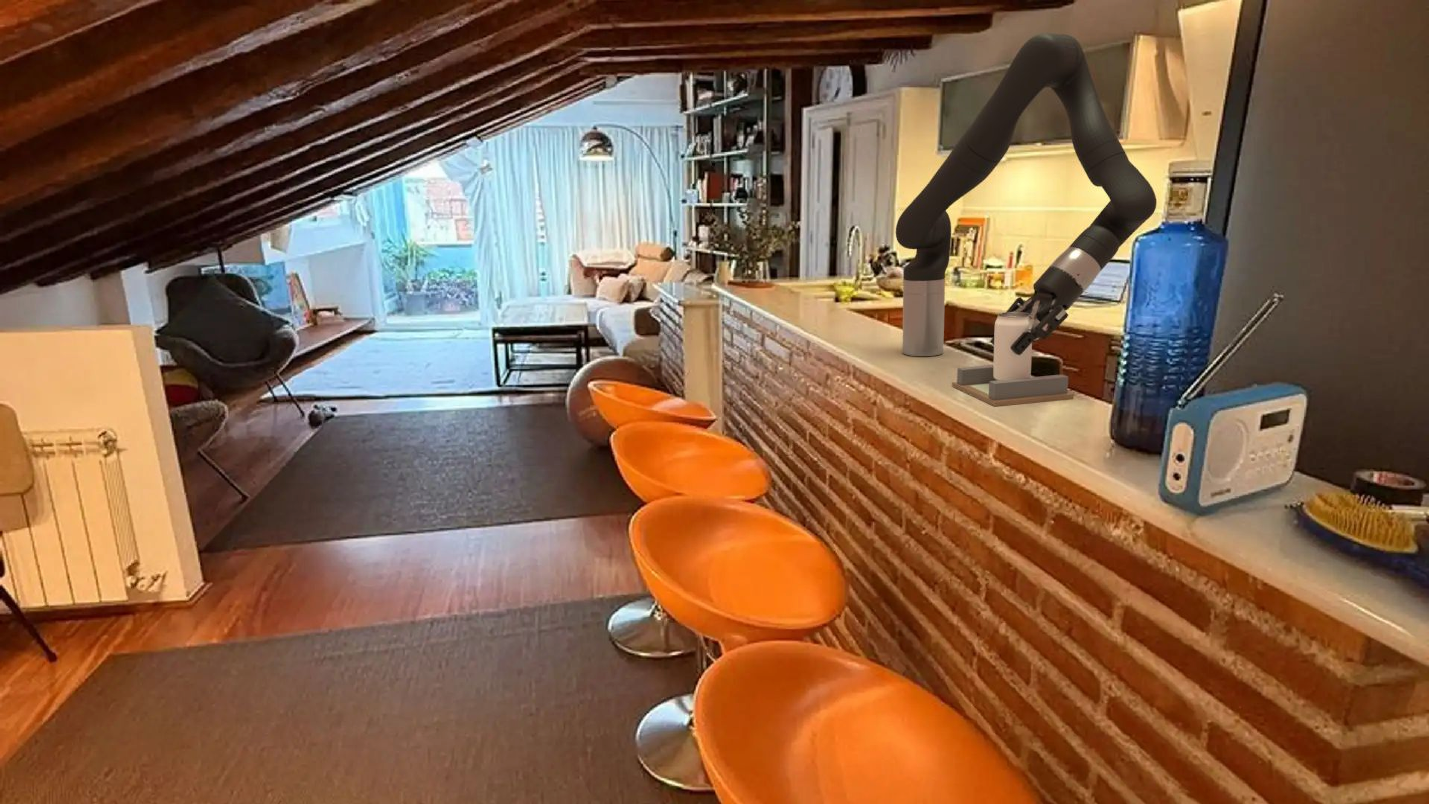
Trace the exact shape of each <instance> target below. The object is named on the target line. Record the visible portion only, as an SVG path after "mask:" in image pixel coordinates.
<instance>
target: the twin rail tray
mask: <svg viewBox="0 0 1429 804" xmlns="http://www.w3.org/2000/svg"><path fill="white" fill-rule="evenodd" d="M993 366H994V364H985V365H973V366H965V367H963V366H962V367H957V369H956V370H957V371H956V372H957V373H956V381H952V382H951V387H953V388H955V389H957V390H958V391H961V390H962V391H961V392H963V391H964V392H963V393H966V394H967V393H968V394H967V395H969V394H970V395H969V396H971V397H974V398H976V399H978V400H979V401H982V402H984V403H986V404H988V405H991V406H992V407H1001V406H1000V405H1004V406H1010V405H1011V406H1012V405H1023V404H1032V403H1044V402H1052V401H1061V400H1063V401H1064V400H1065V401H1066V400H1071V399H1072V400H1073V399H1074V394H1073V393H1071V392H1069V376H1067V375H1065V374H1054V375H1053V374H1052V375H1043V376H1042V375H1041V376H1033V377H1032V376H1031V377H1030V378H1019V379H1008V380H998V381H997V380H995V378H994V377H993Z"/></svg>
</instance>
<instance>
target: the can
mask: <svg viewBox="0 0 1429 804" xmlns="http://www.w3.org/2000/svg"><path fill="white" fill-rule="evenodd" d="M1026 314H1027V315H1026ZM1030 315H1031V314H1029V313H1024V312H1006V311H1005V312H1000V313H999V312H998V314H997V318H996V320H995V323H994V331H993V332H994V336H993V337H994V345H993V365H994V366H993V377H994V378H995V380H997V381H998V380H1008V379H1019V378H1030V377H1032V376H1031V375H1032V358H1033V357H1032V351H1033V342H1032V343H1031V344H1030V345H1029V346H1028V347H1027V348H1026V349H1025V351H1024V352H1023V353H1022V354H1021V355H1017V354H1015V353H1014V352H1013V351H1012V350H1011V346H1012V344H1013V343H1014V342H1015V341H1016V340H1017V339H1018V338H1019V337H1020V336H1021V335H1022V333H1023V332H1026V329H1027V327H1028V325H1029V321H1028V319H1029V317H1030ZM1026 333H1027V332H1026Z"/></svg>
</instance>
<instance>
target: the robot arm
mask: <svg viewBox="0 0 1429 804" xmlns="http://www.w3.org/2000/svg"><path fill="white" fill-rule="evenodd" d="M1046 88H1051V90H1052V91H1053V92H1054V94H1055V95H1056V96H1057V97H1058V99H1059V100H1060V102H1061V103H1062V105H1063V107H1064V110H1065V113H1066V114H1067V115H1066V116H1067V118H1068V122H1069V129H1070V137H1071V142H1072V147H1073V149H1074V152H1075V155H1076V157H1077V159H1078V161H1079V162H1080V165H1081V167H1082V168H1083V170H1084V173H1085V174H1086V176H1087V178H1088V179H1089V181H1090V183H1091V184H1092V185H1093V186H1095V187H1098V188H1099V187H1100V188H1102V189H1103V191H1104V192H1105V194H1106V195H1107V197H1108V199H1109V202H1108V203H1107V204H1106V205H1105V206H1104V208H1102V209H1101V211H1100V212H1099V213H1098V215H1097V216H1096V217H1095V218H1094V220H1093V221H1092V223H1091V224H1090V225H1089V226H1088V227H1086V228H1085V229H1084V230H1083V231H1082V232H1081V233H1080V234H1079V235H1078V236H1077V237H1076V238H1075V240H1074V241H1073V242H1072V243H1071V244H1070V245H1069V246H1068V247H1067V248H1066V249H1065V250H1064V251H1063V252H1061V254H1059V255H1058V256H1057V258H1056V259H1055V260H1054V261H1053V262H1052V263H1051V264H1050V265H1049V267H1048V268H1047V269H1046V270H1045V271H1044V272H1043V273H1042V274H1041V276H1039V278H1038V279H1037V280H1036V281H1035V282H1034V283H1033V286H1032V288H1033V292H1034V294H1033V295H1031V296H1030V297H1028V298H1027V299H1026V300H1025V299H1023V298H1022V297H1021V296H1019V297H1017V298H1016V299H1015V300H1014V302H1013V303H1012V304H1011V305H1010V307H1008V309H1007V310H1006V311H1005V312H1024V313H1029V314H1031V315H1030V317H1029V319H1028V321H1029V325H1028V327H1027V329H1026V332H1027V333H1026V332H1023V333H1022V335H1021V336H1020V337H1019V338H1018V339H1017V340H1016V341H1015V342H1014V343H1013V344H1012V346H1011V350H1012V351H1013V352H1014V353H1015V354H1017V355H1021V354H1022V353H1023V352H1024V351H1025V349H1026V348H1027V347H1028V346H1029V345H1030V344H1031V343H1032V344H1033V342H1034V341H1038V340H1039V339H1042V340H1046V339H1047V338H1049V336H1050V335H1051V334H1052V333H1053V332H1054V331H1055V330H1056V329H1058V327H1059V326H1061V324H1062V323H1063V322H1064V321H1065V320H1066V319H1067V318H1068V317H1069V314H1068V313H1067V311H1068V310H1069V309H1070V308H1071V307H1072V306H1073V305H1074V303H1075V302H1076V301H1077V300H1078V299H1079V298H1080V297H1081V296H1082V295H1083V294H1084V292H1085V291H1086V290H1087V289H1088V288H1089V287H1090V285H1092V284H1093V282H1094V281H1095V279H1096V278H1097V277H1098V275H1099V274H1100V272H1101V271H1102V270H1103V269H1104V268H1105V267H1106V266H1107V265H1108V263H1110V261H1111V260H1112V259H1113V258H1115V255H1116V254H1117V252H1118V251H1119V248H1120V247H1121V246H1123V244H1124V243H1126V241H1127V240H1128V239H1129V238H1130V237H1131V236H1132V235H1133V234H1134V233H1135V232H1136V231H1137V230H1138V229H1139V228H1140V227H1141V226H1142V225H1143V224H1144V223H1145V222H1146V221H1148V220H1149V219H1150V218H1151V217H1152V216H1153V215H1154V213H1155V211H1156V209H1157V195H1156V194H1155V191H1154V188H1153V187H1152V185H1151V183H1150V182H1149V181H1148V180H1147V178H1146V177H1145V176H1144V175H1143V174H1142V172H1140V169H1138V168H1137V167H1136V166H1135V165H1134V164H1133V163H1132V161H1130V159H1129V157H1128V155H1127V153H1126V151H1125V149H1124V148H1123V145H1122V143H1121V141H1120V140H1119V138H1118V136H1117V134H1116V132H1115V131H1114V129H1113V127H1112V124H1111V123H1110V121H1109V119H1108V117H1107V115H1106V113H1105V109H1104V108H1103V105H1102V103H1101V100H1100V97H1099V95H1098V92H1097V88H1096V86H1095V83H1094V81H1093V78H1092V75H1091V71H1090V69H1089V65H1088V60H1087V58H1086V56H1085V52H1084V50H1083V48H1082V45H1081V43H1080V42H1079V40H1078V39H1076V38H1075V37H1074V36H1072V35H1070V34H1066V33H1065V34H1064V33H1056V32H1055V33H1050V32H1044V33H1039V34H1037V35H1036V34H1035V35H1033V36H1032V37H1030V38H1029V39H1028V40H1027V41H1025V42H1024V44H1023V45H1022V46H1021V47H1020V49H1019V50H1018V52H1017V53H1016V55H1015V57H1014V58H1013V60H1012V61H1011V64H1010V65H1009V66H1008V69H1006V72H1005V73H1004V75H1003V77H1002V78H1001V80H1000V82H999V84H998V86H997V88H995V91H994V92H993V94H992V95H991V96H990V98H989V99H988V101H987V102H986V103H985V104H984V106H983V107H982V108H981V110H980V112H979V113H978V114H977V116H976V117H975V118H974V120H973V122H972V123H971V124H970V126H968V127H967V128H966V130H965V131H964V133H963V134H962V135H961V137H960V138H959V140H958V141H957V143H956V144H955V145H954V147H953V148H952V149H951V151H950V153H949V154H948V156H947V158H946V159H945V160H944V161H943V163H942V164H941V165H940V166H939V168H938V170H937V171H936V172H935V173H934V174H933V176H932V177H931V179H930V180H929V182H928V183H927V184H926V186H924V188H923V189H922V190H921V192H919V193H918V194H917V196H916V197H915V198H914V199H913V200H912V201H911V203H910V204H908V206H907V207H906V208H905V209H904V210H903V212H902V213H901V214H900V216H899V218H898V220H897V222H896V226H895V238H896V241H897V243H898V244H899V245H900V246H901V247H902V248H905V249H907V250H916V251H915V252H916V253H915V256H914V258H913V259H912V260H911V261H910V262H909V263H908V264H906V265H905V266H904V268H903V271H902V272H903V277H902V282H903V283H902V353H903V355H907V356H912V357H913V356H914V357H933V356H939V355H942V354H944V338H945V337H944V336H945V333H944V331H945V296H946V295H945V294H946V289H945V288H946V271H947V269H948V266H949V263H950V254H951V244H952V243H951V242H952V241H951V240H952V223H951V219H950V215H949V213H948V212H947V210H948V209H949V208H950V207H951V206H952V205H954V204H955V203H956V202H957V201H958V200H960V199H961V198H962V197H964V196H965V195H967V194H968V193H970V192H971V191H973V190H974V189H975V188H976V187H978V186H979V185H980V184H981V183H983V182H984V181H985V180H986V178H988V177H989V175H990V174H991V173H992V172H993V171H994V170H995V168H996V167H997V166H998V164H1000V162H1001V161H1002V160H1003V158H1004V156H1005V155H1006V154H1007V152H1008V150H1009V149H1010V146H1011V143H1012V140H1013V138H1014V134H1015V130H1016V127H1017V123H1018V122H1019V119H1020V118H1021V116H1022V115H1023V113H1024V112H1025V110H1026V109H1027V108H1028V106H1029V105H1030V104H1031V103H1032V102H1033V100H1034V99H1035V98H1036V97H1037V96H1038V95H1039V93H1041V91H1043V90H1044V89H1046ZM1026 315H1027V314H1026ZM990 343H991V344H992V345H993V346H994V336H992V338H991V340H990Z"/></svg>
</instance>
